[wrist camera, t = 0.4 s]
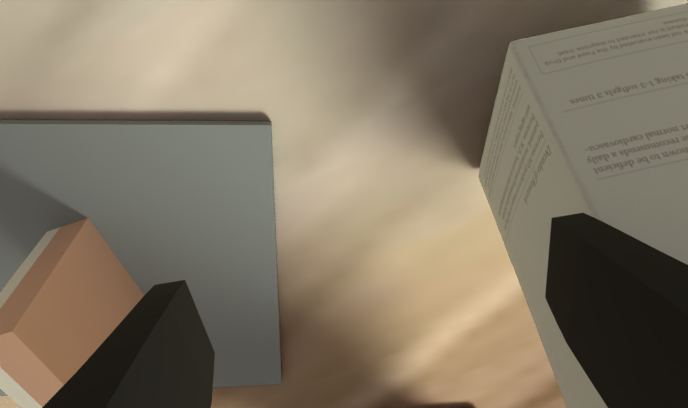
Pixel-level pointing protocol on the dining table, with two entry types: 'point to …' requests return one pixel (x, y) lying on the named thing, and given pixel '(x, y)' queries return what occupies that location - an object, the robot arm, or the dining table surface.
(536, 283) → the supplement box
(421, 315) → the dining table surface
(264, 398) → the dining table surface
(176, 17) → the dining table surface
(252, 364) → the felt mat
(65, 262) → the terracotta tile
